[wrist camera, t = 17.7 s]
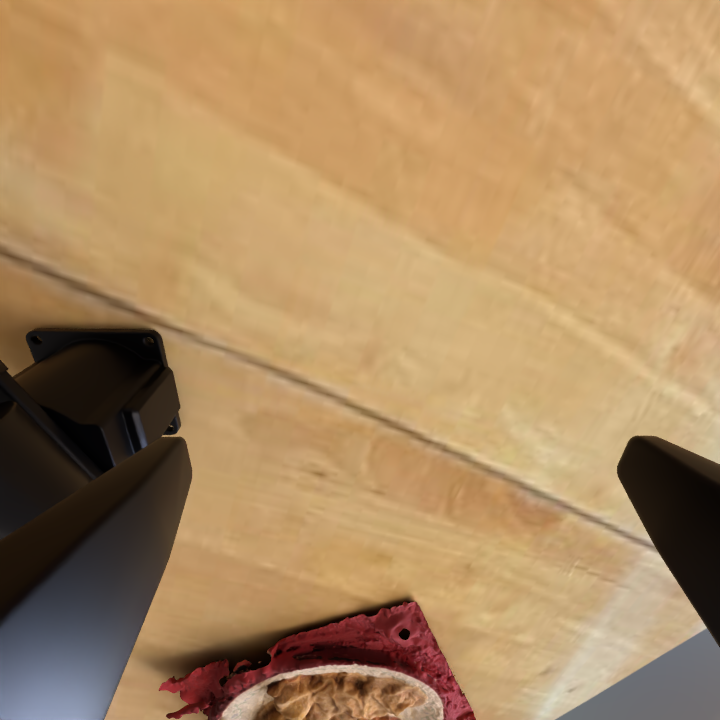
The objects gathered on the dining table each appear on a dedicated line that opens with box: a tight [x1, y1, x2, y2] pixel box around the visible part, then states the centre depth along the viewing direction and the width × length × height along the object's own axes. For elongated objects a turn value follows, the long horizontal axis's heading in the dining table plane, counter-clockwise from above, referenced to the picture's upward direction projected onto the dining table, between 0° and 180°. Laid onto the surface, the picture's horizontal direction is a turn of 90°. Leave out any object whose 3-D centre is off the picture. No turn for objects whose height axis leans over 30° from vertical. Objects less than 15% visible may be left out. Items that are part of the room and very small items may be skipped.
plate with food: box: [159, 601, 476, 720], centre depth 37 cm, size 24×26×3 cm
